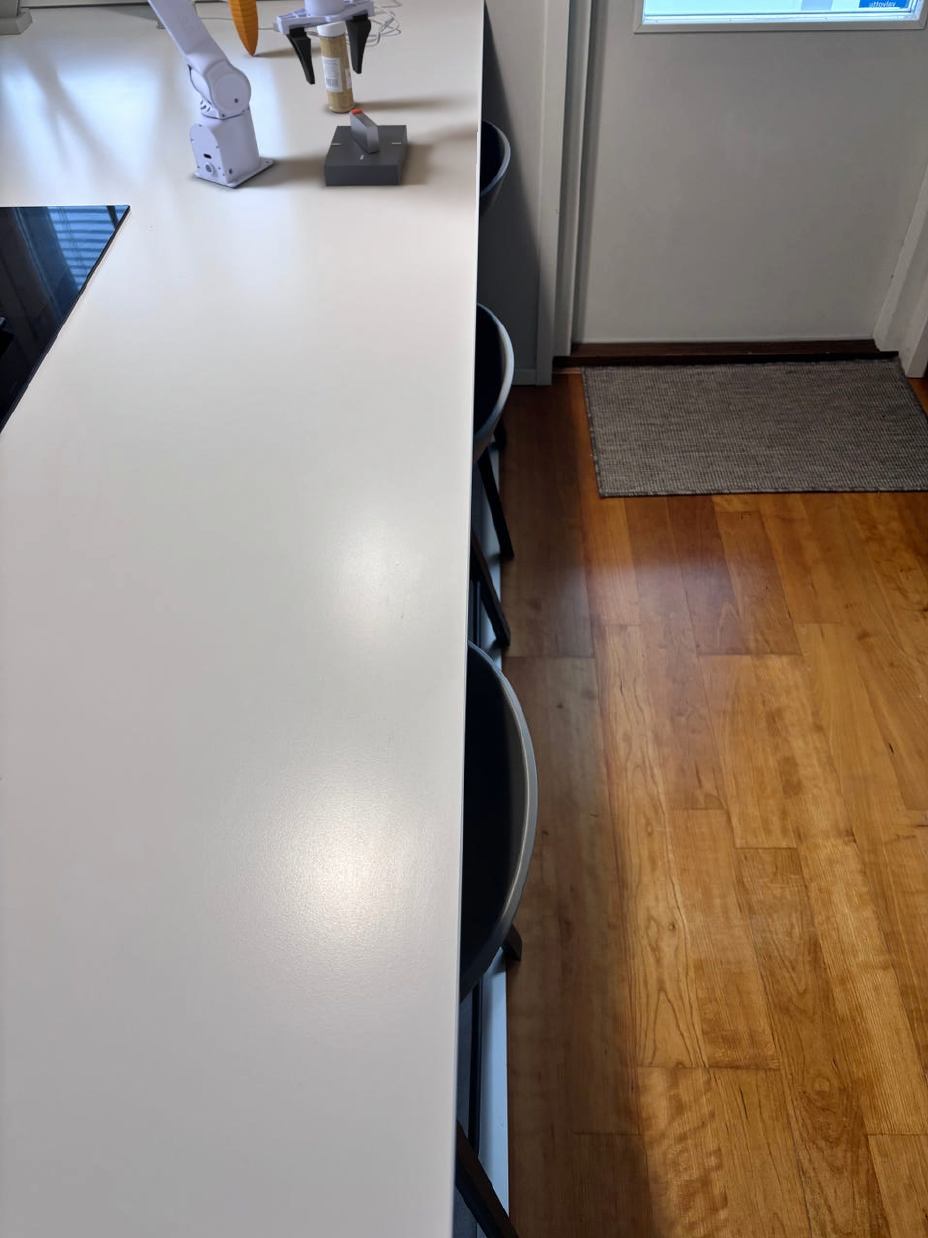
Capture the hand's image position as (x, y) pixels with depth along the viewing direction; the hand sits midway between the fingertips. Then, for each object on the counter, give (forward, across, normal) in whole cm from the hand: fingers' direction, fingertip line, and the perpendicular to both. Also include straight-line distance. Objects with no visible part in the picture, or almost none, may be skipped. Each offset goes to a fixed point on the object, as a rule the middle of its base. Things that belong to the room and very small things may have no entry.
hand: (334, 76), depth 146 cm
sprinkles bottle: (+10, +5, +12) cm, 16 cm away
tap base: (+9, 0, -10) cm, 14 cm away
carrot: (+10, -1, +43) cm, 44 cm away
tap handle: (+6, 0, -10) cm, 12 cm away
